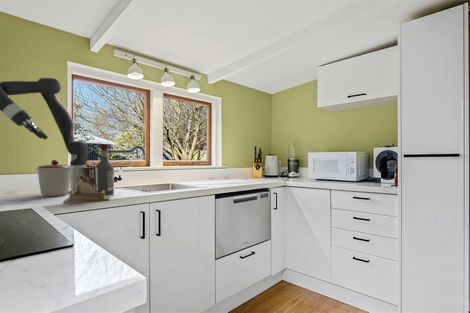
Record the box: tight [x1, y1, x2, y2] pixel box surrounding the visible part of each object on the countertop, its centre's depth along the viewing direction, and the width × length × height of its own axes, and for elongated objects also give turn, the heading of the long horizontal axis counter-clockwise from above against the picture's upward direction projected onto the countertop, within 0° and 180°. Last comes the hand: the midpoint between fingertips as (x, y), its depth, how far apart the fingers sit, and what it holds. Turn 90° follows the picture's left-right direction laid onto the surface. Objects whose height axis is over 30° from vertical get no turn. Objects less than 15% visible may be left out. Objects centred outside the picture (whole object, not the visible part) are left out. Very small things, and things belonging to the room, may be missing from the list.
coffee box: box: [77, 166, 98, 194], centre depth 146 cm, size 9×6×16 cm
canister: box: [35, 159, 73, 197], centre depth 164 cm, size 18×18×21 cm
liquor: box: [95, 143, 115, 196], centre depth 165 cm, size 9×9×30 cm
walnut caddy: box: [63, 190, 111, 204], centre depth 146 cm, size 16×20×4 cm
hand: (44, 137), depth 143 cm, fingers open, 8 cm apart
